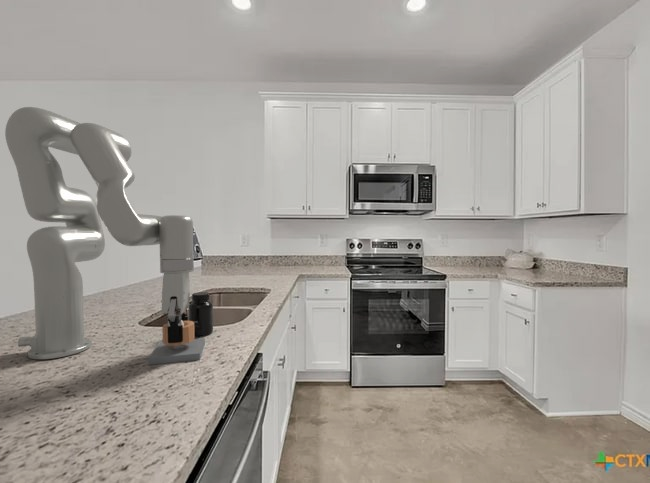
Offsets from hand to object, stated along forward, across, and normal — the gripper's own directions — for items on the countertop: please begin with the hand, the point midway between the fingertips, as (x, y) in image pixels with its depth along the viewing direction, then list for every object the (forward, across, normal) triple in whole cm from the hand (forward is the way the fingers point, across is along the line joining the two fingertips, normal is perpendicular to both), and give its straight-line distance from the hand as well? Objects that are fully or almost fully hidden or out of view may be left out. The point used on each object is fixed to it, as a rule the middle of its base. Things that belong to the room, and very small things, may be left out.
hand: (178, 336), depth 80 cm
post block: (+4, 0, 0) cm, 4 cm away
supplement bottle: (+4, -15, +4) cm, 16 cm away
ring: (+1, 0, 0) cm, 1 cm away
